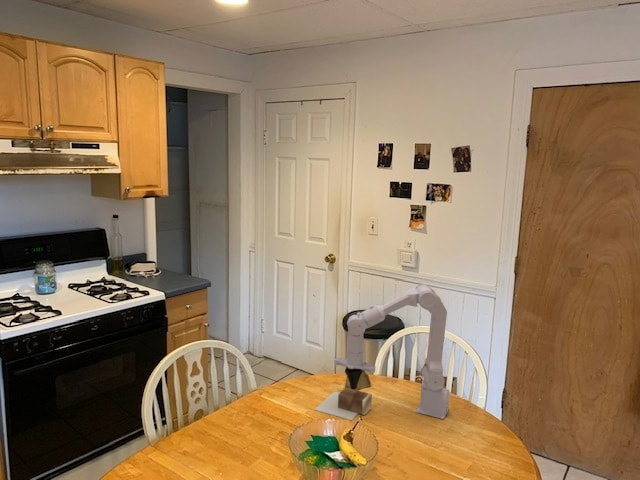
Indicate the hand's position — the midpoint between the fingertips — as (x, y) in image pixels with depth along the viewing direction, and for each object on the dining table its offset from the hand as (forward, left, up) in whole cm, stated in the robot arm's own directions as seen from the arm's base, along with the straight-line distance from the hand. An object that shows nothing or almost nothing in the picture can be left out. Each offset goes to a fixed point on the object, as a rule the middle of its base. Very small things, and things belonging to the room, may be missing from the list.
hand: (353, 388), depth 166 cm
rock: (+5, -16, -8) cm, 18 cm away
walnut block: (-6, 0, -5) cm, 7 cm away
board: (+4, 0, -7) cm, 8 cm away
